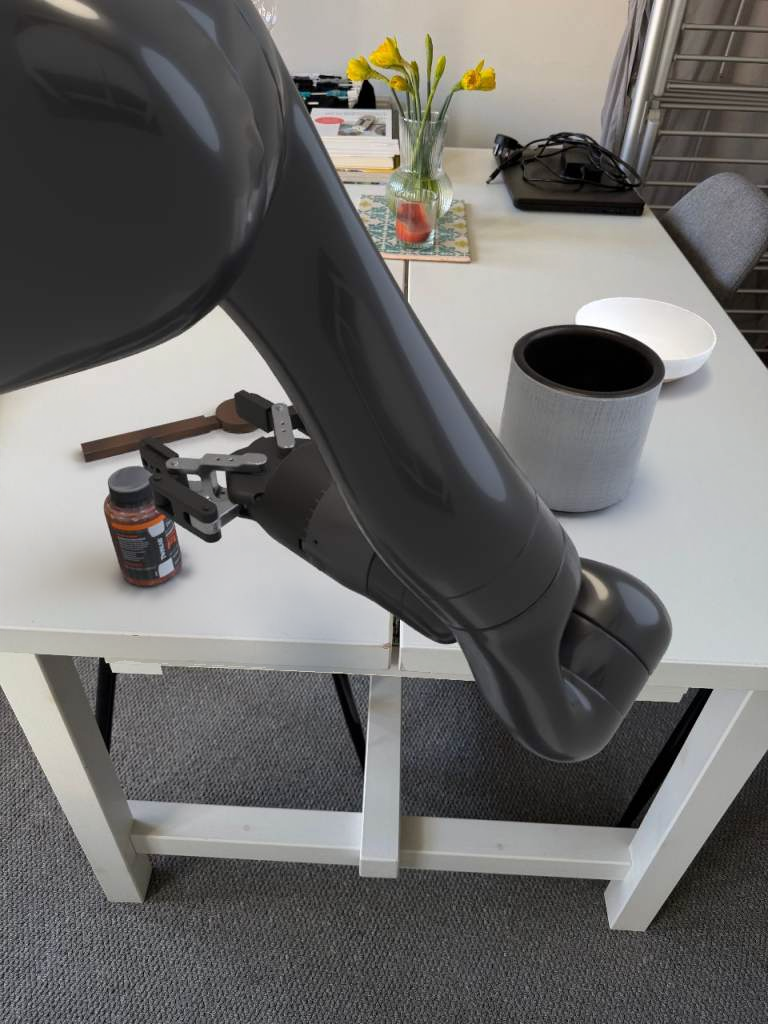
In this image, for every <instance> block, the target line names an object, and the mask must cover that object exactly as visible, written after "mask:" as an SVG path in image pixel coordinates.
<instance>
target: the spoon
mask: <svg viewBox="0 0 768 1024" xmlns="http://www.w3.org/2000/svg"><path fill="white" fill-rule="evenodd" d="M214 413H215V414H213V415H209V416H205V415H204V414H201V415H198V416H192V417H189V418H184V419H180V420H176V421H171V422H167V423H162V424H159V425H154V426H150V427H146V428H142V429H137V430H133V431H128V432H125V433H124V432H123V433H121V434H116V435H112V436H106V437H103V438H99V439H94V440H90V441H86V442H81V443H80V448H81V450H82V453H83V457H84V460H85V462H86V463H89V462H92V461H97V460H100V459H106V458H110V457H114V456H117V455H121V454H125V453H130V452H134V451H139V448H140V447H141V445H140V440H141V439H143V438H145V437H147V436H149V435H150V436H152V437H153V438H155V439H156V440H158V441H159V442H161V443H162V444H167V443H171V442H175V441H179V440H184V439H187V438H193V437H195V436H200V435H204V434H205V435H206V434H208V433H211V431H215V430H220V429H221V430H223V431H225V432H229V433H232V434H247V433H251V432H254V431H256V430H260V429H259V428H258V427H256V426H254V425H252V424H251V423H249V422H247V421H245V420H244V419H242V418H240V417H239V416H238V414H237V412H236V407H235V400H234V397H233V398H229V399H226V400H223V401H222V402H221V403H220V404H218V405H217V407H216V408H215V411H214Z"/></svg>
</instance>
